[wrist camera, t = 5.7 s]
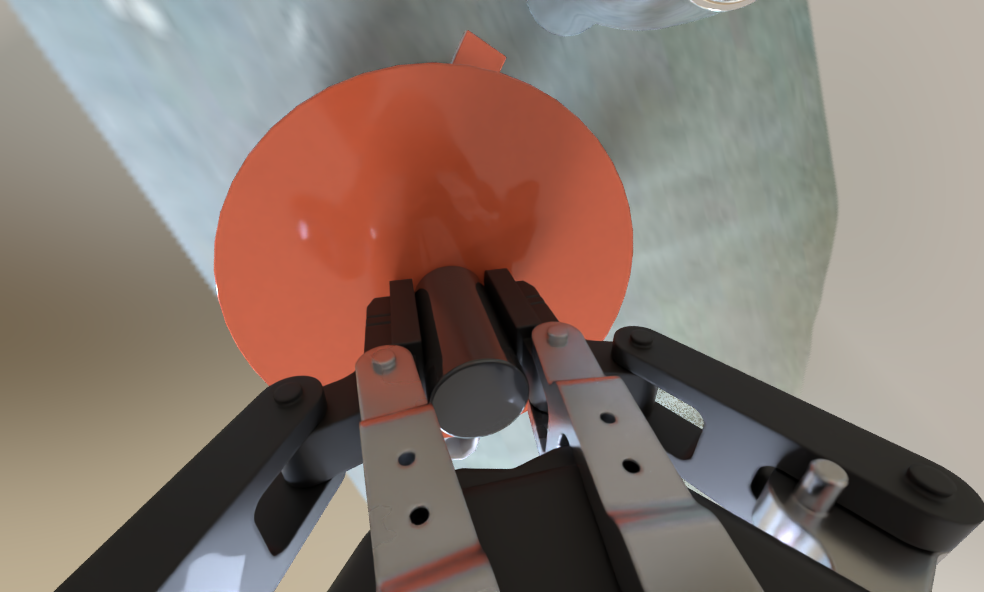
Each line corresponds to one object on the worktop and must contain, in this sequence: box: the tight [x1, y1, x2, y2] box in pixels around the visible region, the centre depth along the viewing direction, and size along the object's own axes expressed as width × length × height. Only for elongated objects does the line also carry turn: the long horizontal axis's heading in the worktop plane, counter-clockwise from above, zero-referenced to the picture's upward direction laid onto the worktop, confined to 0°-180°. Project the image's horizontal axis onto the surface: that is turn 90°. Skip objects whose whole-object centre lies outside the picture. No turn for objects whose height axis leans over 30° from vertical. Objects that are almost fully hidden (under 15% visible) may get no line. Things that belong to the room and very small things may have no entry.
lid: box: [214, 62, 633, 438], centre depth 12 cm, size 14×14×6 cm
